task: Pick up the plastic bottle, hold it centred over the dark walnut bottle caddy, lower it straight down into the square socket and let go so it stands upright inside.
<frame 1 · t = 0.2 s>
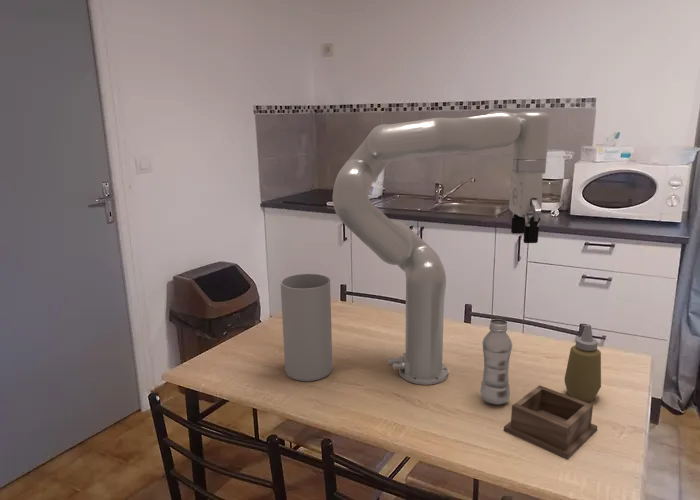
hand: (523, 237, 132), 36 cm above the table, tool pointing down, fingers open, 9 cm apart
cylinder vase: (308, 371, 145), on the table
bottle caddy: (550, 430, 117), on the table
plastic bottle: (494, 402, 129), on the table
squeeze bottle: (581, 396, 130), on the table
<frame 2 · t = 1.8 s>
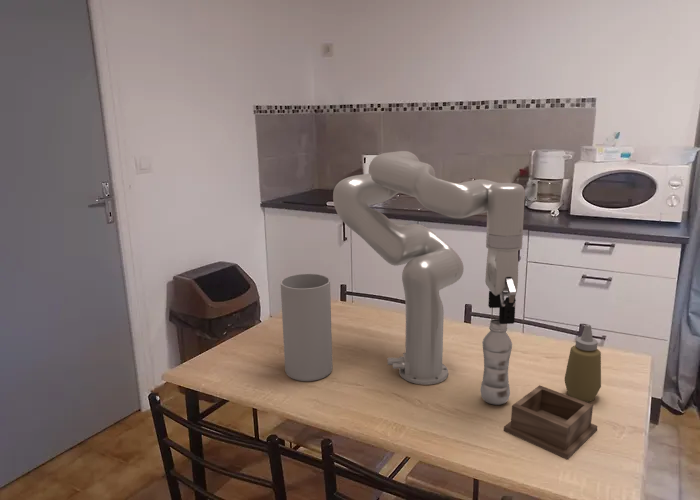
hand: (500, 315, 123), 22 cm above the table, tool pointing down, fingers open, 9 cm apart
nothing on the table moved.
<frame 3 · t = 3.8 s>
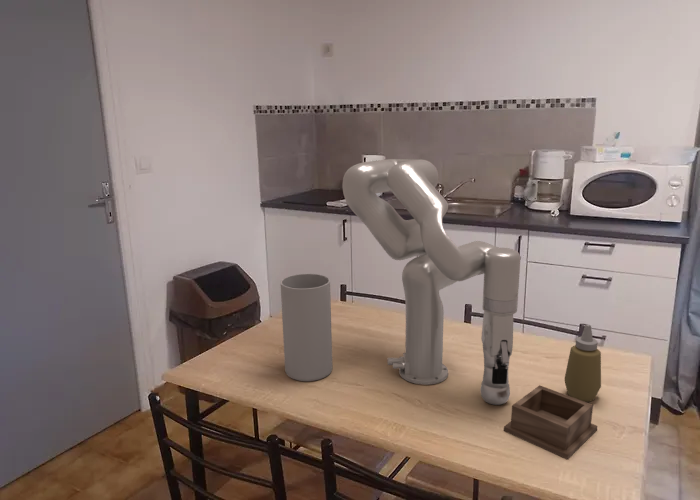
hand: (495, 376, 127), 6 cm above the table, tool pointing down, fingers closed on plastic bottle, 5 cm apart
plastic bottle: (494, 402, 129), on the table, touching gripper
everything else where it was.
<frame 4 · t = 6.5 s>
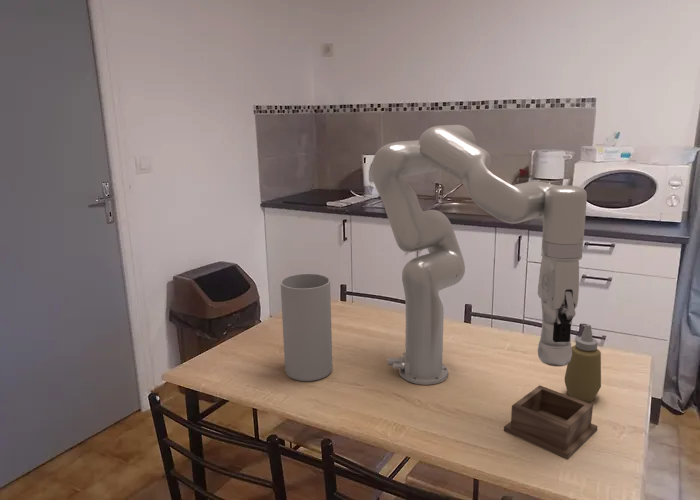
hand: (555, 334, 112), 22 cm above the table, tool pointing down, fingers closed on plastic bottle, 5 cm apart
plastic bottle: (553, 364, 114), point 15 cm above the table, touching gripper
everything else where it was.
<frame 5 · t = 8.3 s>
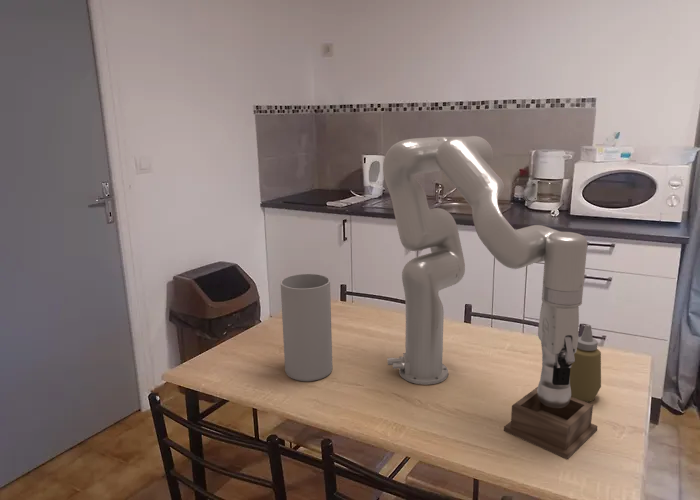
hand: (555, 376, 114), 13 cm above the table, tool pointing down, fingers closed on plastic bottle, 5 cm apart
plastic bottle: (553, 404, 115), point 6 cm above the table, touching gripper
everything else where it was.
when the fingers open (9 cm above the table, at t = 9.5 s): plastic bottle drops 1 cm, resting on bottle caddy.
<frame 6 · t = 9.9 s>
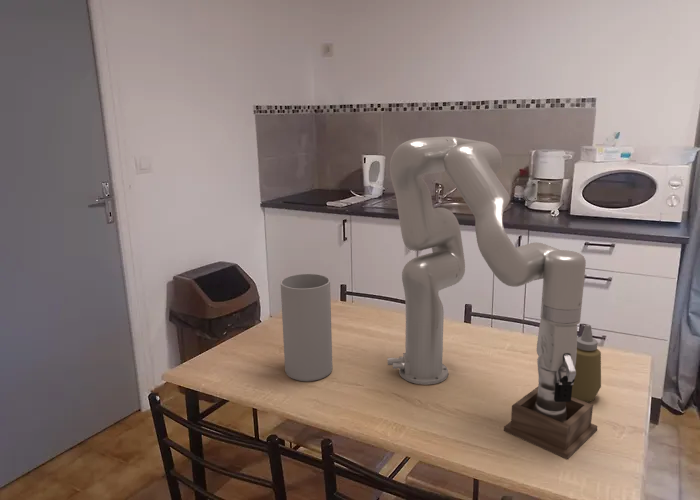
hand: (553, 389, 115), 10 cm above the table, tool pointing down, fingers open, 9 cm apart
plastic bottle: (548, 425, 117), point 1 cm above the table, touching bottle caddy
everything else where it was.
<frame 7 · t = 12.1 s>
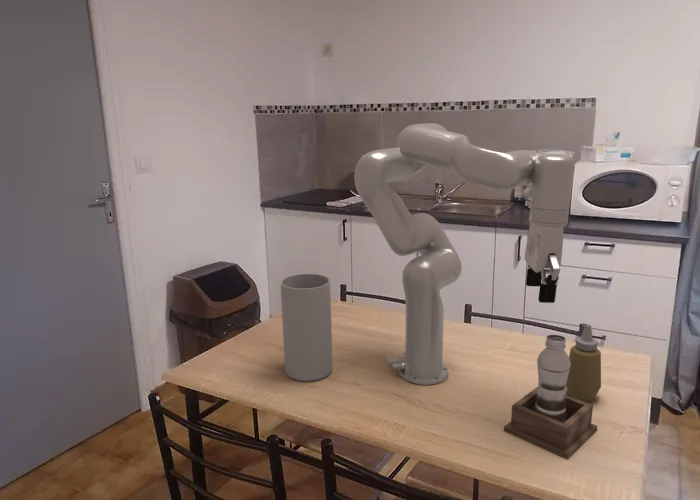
hand: (539, 293, 117), 28 cm above the table, tool pointing down, fingers open, 9 cm apart
nothing on the table moved.
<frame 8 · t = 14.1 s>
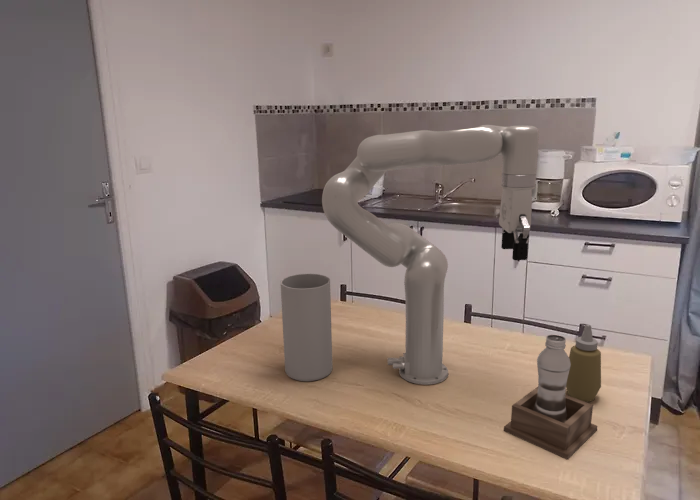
hand: (513, 254, 129), 33 cm above the table, tool pointing down, fingers open, 9 cm apart
nothing on the table moved.
at the end: plastic bottle 0.7 cm off-centre on the bottle caddy, point 0.8 cm above the bottle caddy's base; plastic bottle tilted 0°; the gripper is holding nothing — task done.
